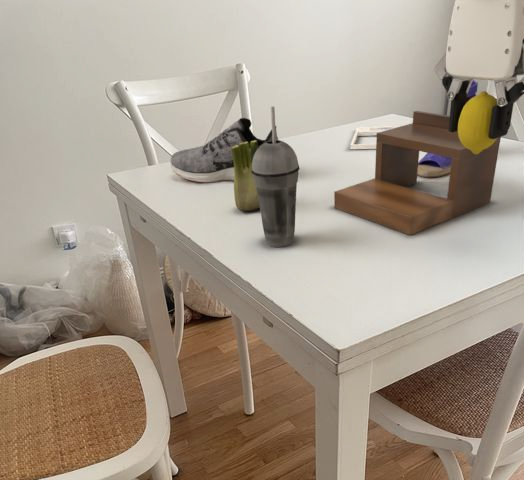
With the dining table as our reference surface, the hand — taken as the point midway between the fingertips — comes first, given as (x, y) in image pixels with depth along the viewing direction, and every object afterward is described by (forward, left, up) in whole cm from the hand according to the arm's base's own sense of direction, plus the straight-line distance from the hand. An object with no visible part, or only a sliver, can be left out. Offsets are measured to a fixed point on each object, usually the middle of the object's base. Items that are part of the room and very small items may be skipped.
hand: (477, 131), depth 72 cm
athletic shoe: (+7, -56, -16) cm, 59 cm away
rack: (-6, -16, -16) cm, 23 cm away
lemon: (0, 0, -3) cm, 3 cm away
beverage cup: (+20, -20, -16) cm, 32 cm away
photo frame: (-36, -52, -16) cm, 65 cm away
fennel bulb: (+15, -36, -16) cm, 42 cm away
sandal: (-29, -27, -16) cm, 43 cm away
